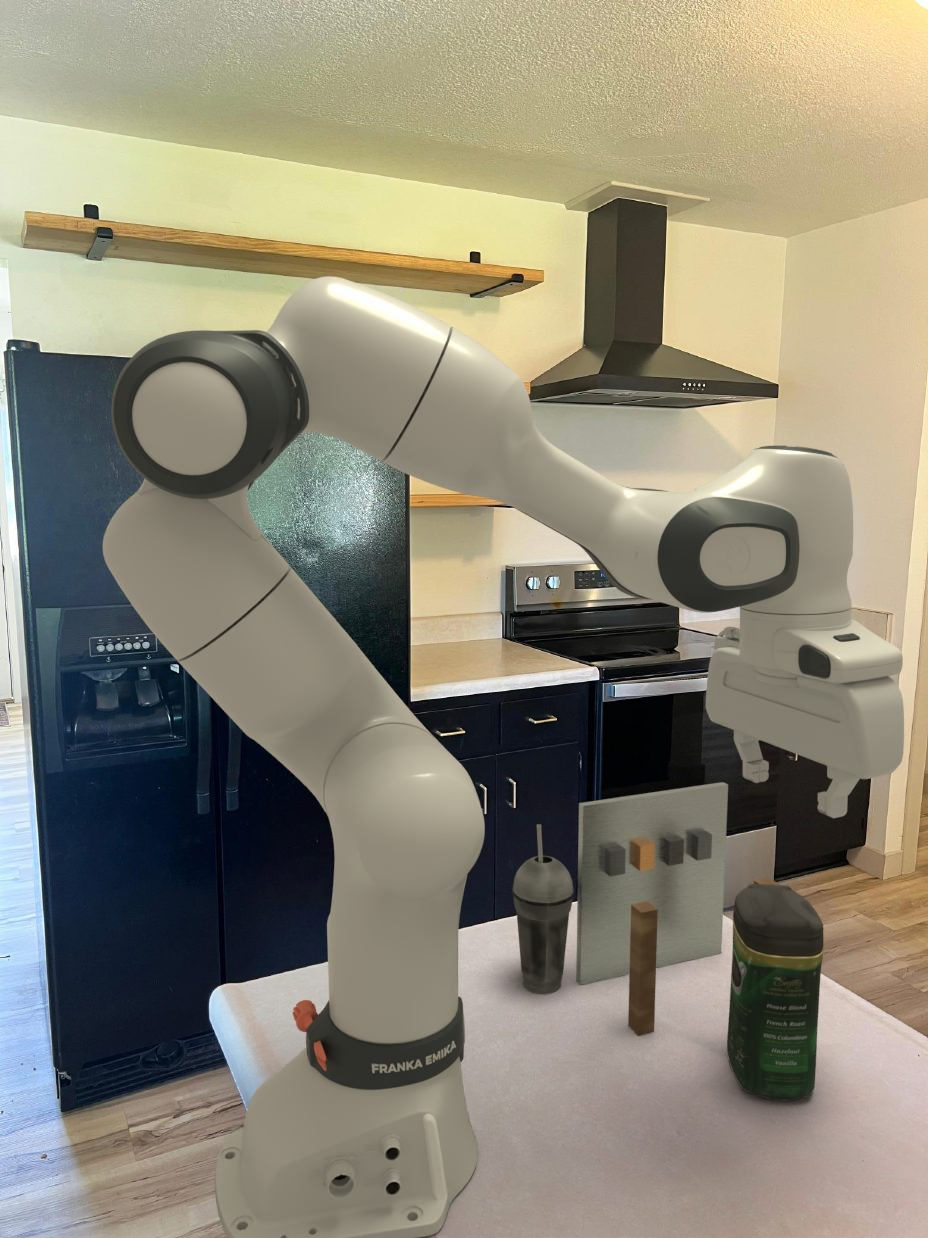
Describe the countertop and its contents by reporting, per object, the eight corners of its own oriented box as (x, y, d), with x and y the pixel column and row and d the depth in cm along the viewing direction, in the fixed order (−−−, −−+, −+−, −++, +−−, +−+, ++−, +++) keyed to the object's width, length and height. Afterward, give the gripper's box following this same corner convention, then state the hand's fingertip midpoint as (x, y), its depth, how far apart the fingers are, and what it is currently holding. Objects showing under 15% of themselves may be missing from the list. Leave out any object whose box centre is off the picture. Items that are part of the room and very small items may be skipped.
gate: (638, 1036, 96) (641, 912, 94) (628, 1025, 97) (631, 904, 95) (774, 1001, 102) (780, 884, 100) (762, 992, 104) (768, 877, 102)
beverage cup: (583, 978, 107) (586, 818, 104) (556, 1008, 101) (558, 838, 98) (529, 961, 111) (530, 806, 108) (500, 988, 105) (500, 825, 102)
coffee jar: (825, 1108, 84) (836, 923, 82) (739, 1103, 85) (747, 919, 82) (797, 1045, 94) (806, 877, 91) (720, 1041, 95) (726, 875, 92)
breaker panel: (585, 990, 104) (588, 809, 101) (576, 981, 106) (579, 803, 103) (727, 957, 111) (734, 787, 108) (716, 949, 113) (723, 782, 110)
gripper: (689, 626, 84) (689, 767, 86) (857, 666, 65) (852, 845, 68) (743, 620, 86) (743, 757, 89) (921, 656, 68) (914, 830, 70)
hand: (791, 796), depth 78 cm, fingers open, 8 cm apart
